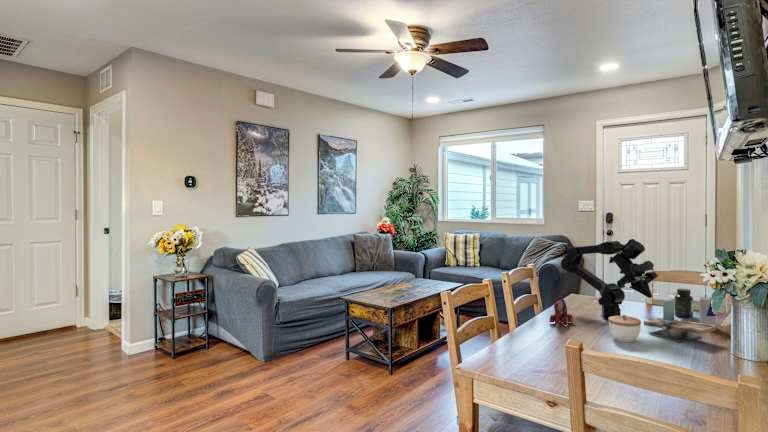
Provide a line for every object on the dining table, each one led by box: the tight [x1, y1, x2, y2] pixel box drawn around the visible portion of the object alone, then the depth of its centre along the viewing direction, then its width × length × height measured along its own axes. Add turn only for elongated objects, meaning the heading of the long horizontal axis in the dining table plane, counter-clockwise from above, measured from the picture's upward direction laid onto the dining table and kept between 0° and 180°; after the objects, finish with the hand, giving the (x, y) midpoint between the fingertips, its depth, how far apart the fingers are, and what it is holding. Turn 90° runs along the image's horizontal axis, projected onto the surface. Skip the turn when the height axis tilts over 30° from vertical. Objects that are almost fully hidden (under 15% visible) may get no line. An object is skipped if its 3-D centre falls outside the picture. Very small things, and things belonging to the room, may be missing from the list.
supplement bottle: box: [674, 288, 694, 319], centre depth 189 cm, size 7×7×12 cm
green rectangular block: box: [660, 298, 679, 324], centre depth 166 cm, size 4×6×9 cm, turn 114°
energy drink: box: [698, 296, 717, 328], centre depth 172 cm, size 5×5×12 cm
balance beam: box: [643, 317, 717, 335], centre depth 163 cm, size 21×9×2 cm, turn 24°
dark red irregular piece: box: [549, 298, 574, 325], centre depth 183 cm, size 7×12×10 cm, turn 139°
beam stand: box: [649, 318, 702, 344], centre depth 164 cm, size 11×14×5 cm
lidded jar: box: [607, 314, 642, 343], centre depth 161 cm, size 11×11×9 cm
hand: (650, 297), depth 172 cm, fingers closed
